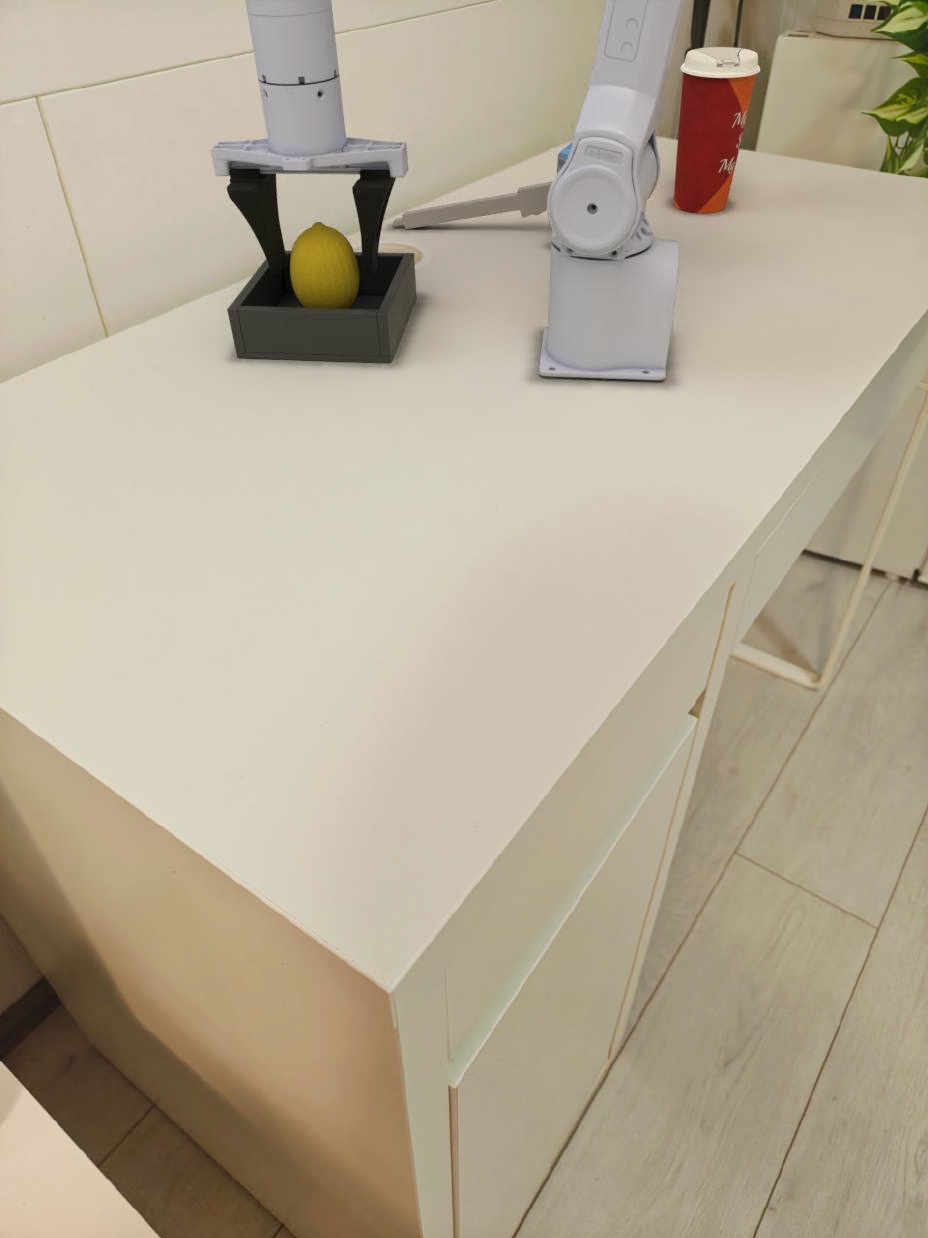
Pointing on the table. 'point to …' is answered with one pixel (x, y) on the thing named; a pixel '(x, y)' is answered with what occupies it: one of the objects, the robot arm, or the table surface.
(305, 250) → the lemon
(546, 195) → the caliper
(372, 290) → the dark gray open box
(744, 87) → the paper cup
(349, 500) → the table surface
